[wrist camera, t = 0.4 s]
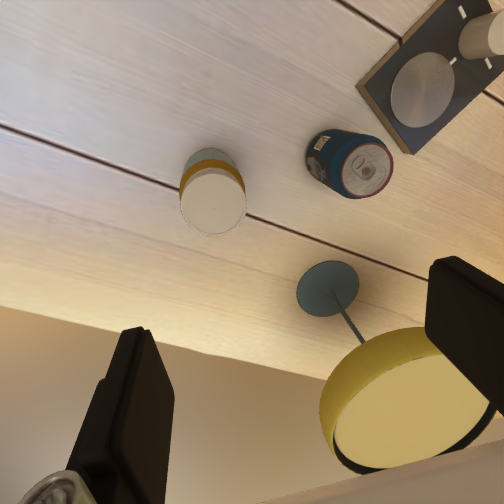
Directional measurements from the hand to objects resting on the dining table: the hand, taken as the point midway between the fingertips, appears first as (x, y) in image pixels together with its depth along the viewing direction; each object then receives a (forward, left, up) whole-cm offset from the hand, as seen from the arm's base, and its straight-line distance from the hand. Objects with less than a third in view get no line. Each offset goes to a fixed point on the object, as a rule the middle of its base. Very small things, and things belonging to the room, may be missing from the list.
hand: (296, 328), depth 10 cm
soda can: (+10, +10, -36) cm, 39 cm away
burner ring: (+12, +23, -33) cm, 42 cm away
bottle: (0, -3, -36) cm, 36 cm away
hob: (+12, +26, -36) cm, 46 cm away
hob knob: (+12, +31, -33) cm, 47 cm away
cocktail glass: (+27, -4, -36) cm, 45 cm away
